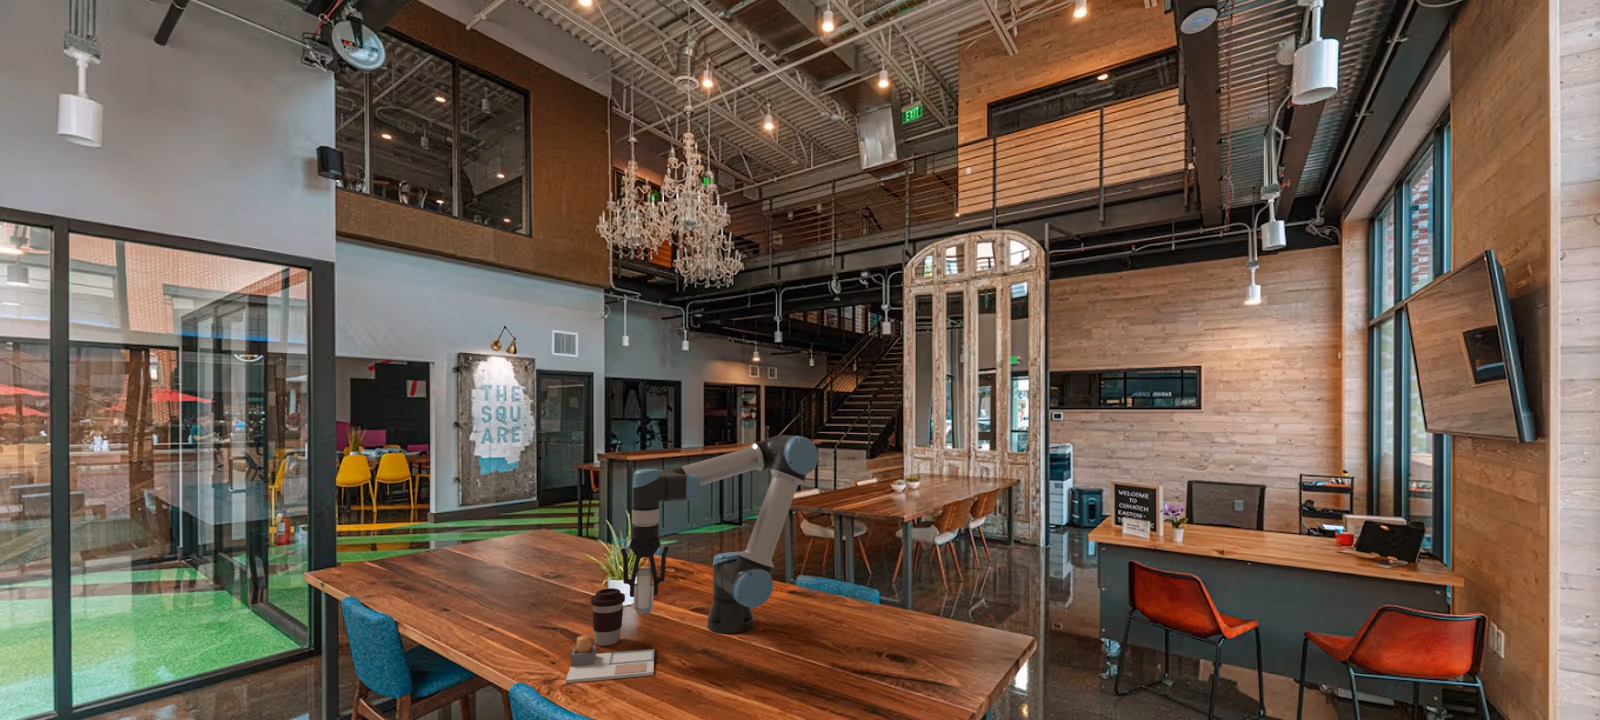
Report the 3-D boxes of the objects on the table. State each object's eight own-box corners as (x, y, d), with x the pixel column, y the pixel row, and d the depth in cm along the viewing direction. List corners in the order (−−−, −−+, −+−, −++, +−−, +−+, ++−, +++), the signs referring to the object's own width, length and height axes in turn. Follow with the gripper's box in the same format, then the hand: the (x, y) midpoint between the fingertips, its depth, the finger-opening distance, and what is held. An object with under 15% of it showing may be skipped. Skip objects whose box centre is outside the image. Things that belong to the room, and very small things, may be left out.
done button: (591, 653, 174) (592, 634, 174) (590, 658, 170) (590, 639, 171) (577, 654, 173) (577, 635, 173) (575, 659, 169) (575, 640, 170)
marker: (651, 609, 178) (652, 566, 179) (650, 613, 174) (651, 569, 175) (636, 609, 177) (637, 567, 178) (635, 614, 173) (636, 570, 174)
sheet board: (654, 651, 180) (654, 638, 180) (653, 675, 164) (653, 660, 165) (574, 658, 175) (574, 644, 176) (565, 683, 160) (566, 668, 160)
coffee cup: (614, 649, 182) (615, 597, 183) (583, 647, 184) (584, 595, 185) (630, 637, 192) (630, 587, 193) (600, 634, 193) (601, 585, 195)
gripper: (675, 520, 183) (674, 601, 181) (615, 522, 180) (613, 605, 178) (676, 525, 176) (674, 609, 174) (613, 527, 172) (611, 614, 170)
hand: (643, 607), depth 176 cm, fingers closed on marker, 4 cm apart
